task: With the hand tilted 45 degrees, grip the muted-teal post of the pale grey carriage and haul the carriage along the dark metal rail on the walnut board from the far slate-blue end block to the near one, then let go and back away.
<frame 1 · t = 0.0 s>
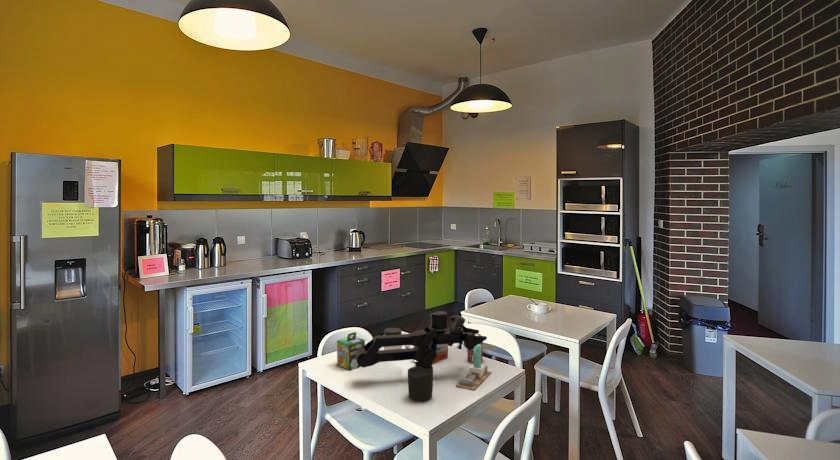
hand: (482, 334, 187), 17 cm above the table, tool horizontal, fingers open, 9 cm apart
pen holder: (420, 397, 165), on the table
jar: (392, 355, 210), on the table
carriage: (477, 359, 184), point 7 cm above the table, slide at 0.0 cm
soda can: (474, 361, 202), on the table
medicine box: (430, 360, 204), on the table
rail: (474, 379, 182), on the table
chalk box: (351, 365, 197), on the table
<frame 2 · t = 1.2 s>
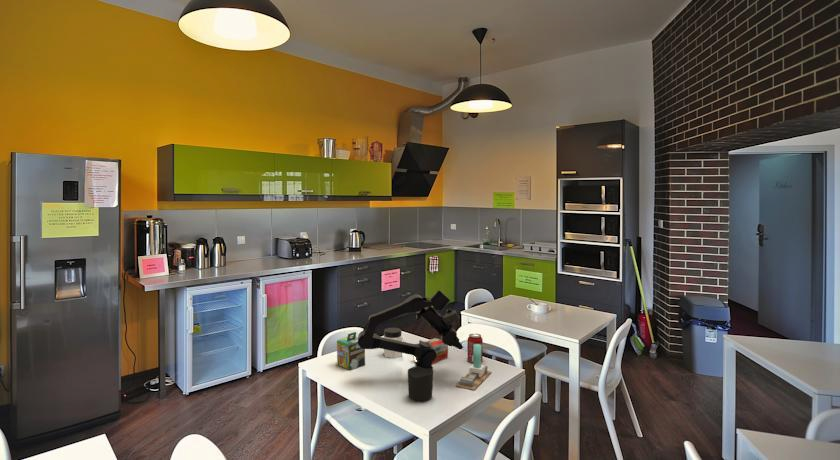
hand: (460, 344, 183), 14 cm above the table, tool tilted 45°, fingers open, 9 cm apart
nothing on the table moved.
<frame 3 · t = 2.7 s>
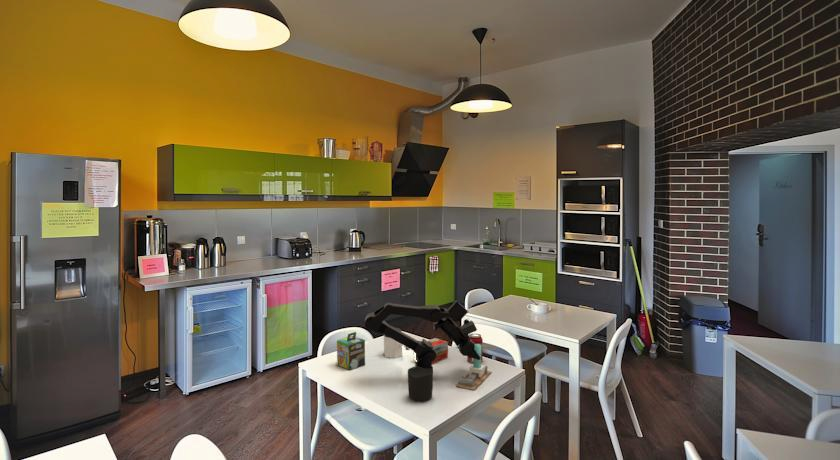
hand: (477, 355, 184), 9 cm above the table, tool tilted 45°, fingers open, 9 cm apart
nothing on the table moved.
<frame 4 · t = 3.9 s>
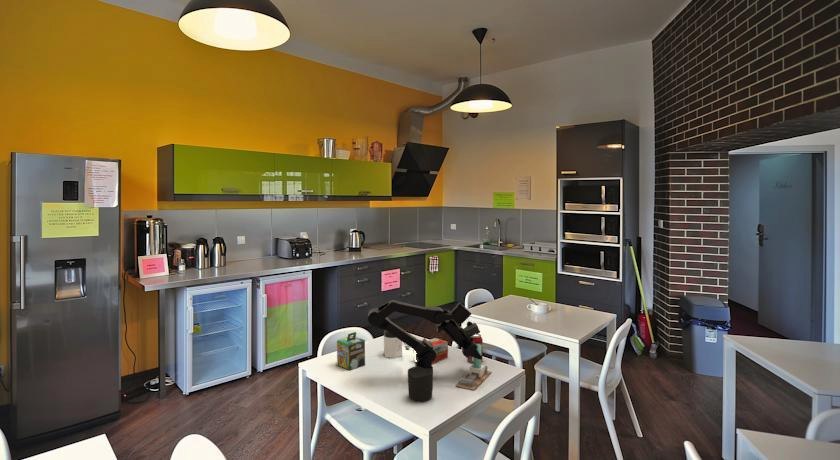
hand: (480, 357, 184), 8 cm above the table, tool tilted 45°, fingers closed on carriage, 3 cm apart
carriage: (477, 359, 184), point 7 cm above the table, slide at 0.0 cm, touching gripper
everything else where it was.
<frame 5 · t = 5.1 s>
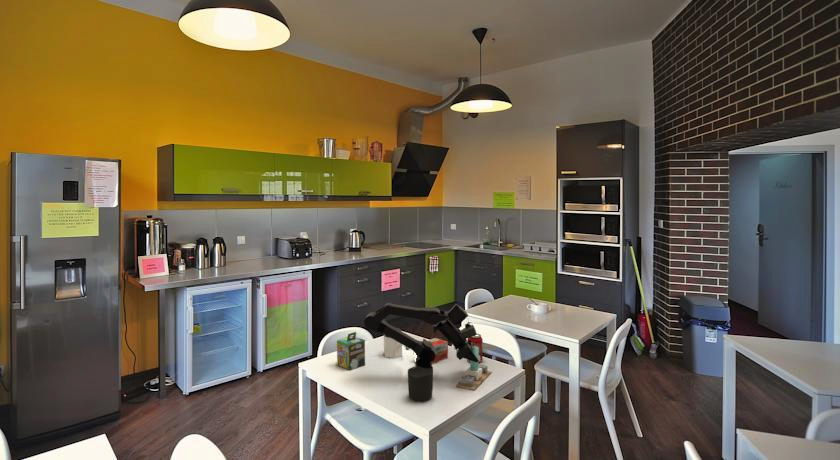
hand: (477, 360, 181), 8 cm above the table, tool tilted 45°, fingers closed on carriage, 3 cm apart
carriage: (474, 362, 181), point 7 cm above the table, slide at 3.4 cm, touching gripper
everything else where it was.
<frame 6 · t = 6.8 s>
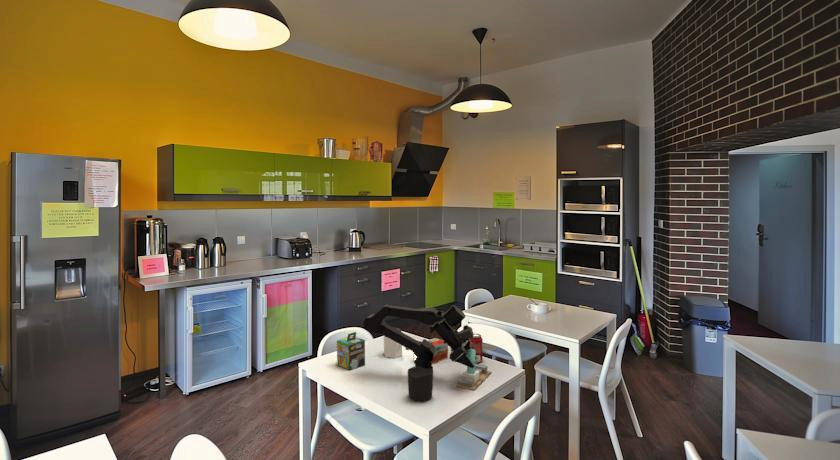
hand: (474, 363, 178), 8 cm above the table, tool tilted 45°, fingers open, 9 cm apart
carriage: (471, 365, 178), point 7 cm above the table, slide at 6.9 cm
everything else where it was.
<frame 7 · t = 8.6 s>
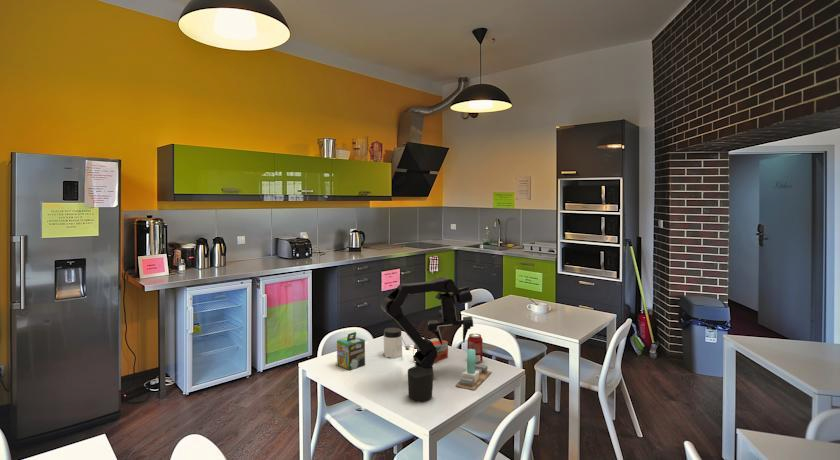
hand: (452, 343, 187), 13 cm above the table, tool pointing down, fingers open, 9 cm apart
nothing on the table moved.
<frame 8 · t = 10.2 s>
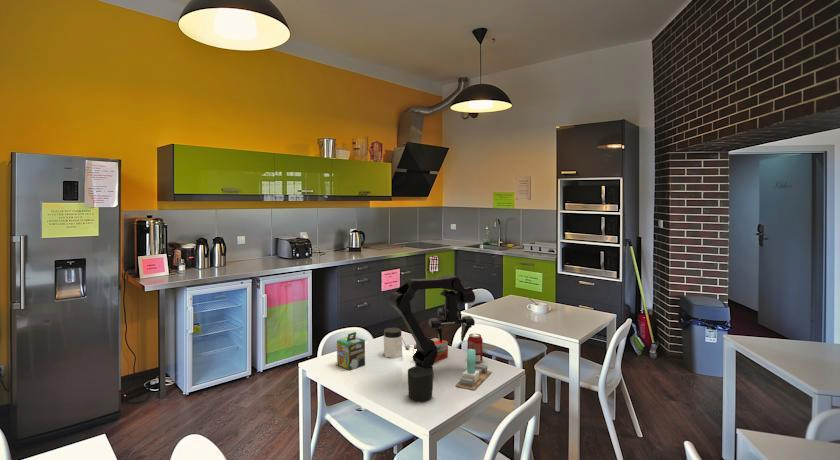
hand: (451, 341, 189), 13 cm above the table, tool pointing down, fingers open, 9 cm apart
nothing on the table moved.
at the end: carriage slide at 6.9 cm; the gripper is holding nothing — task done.
